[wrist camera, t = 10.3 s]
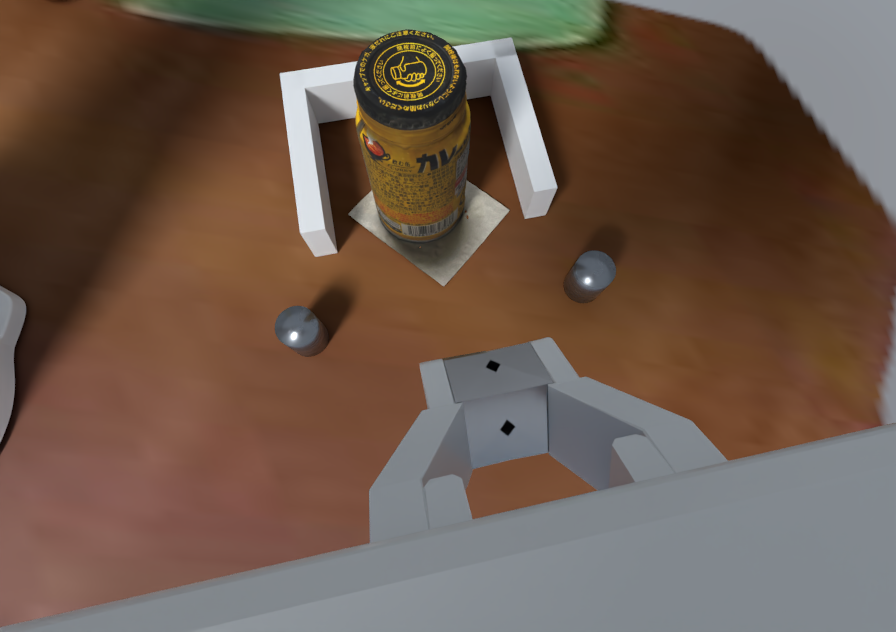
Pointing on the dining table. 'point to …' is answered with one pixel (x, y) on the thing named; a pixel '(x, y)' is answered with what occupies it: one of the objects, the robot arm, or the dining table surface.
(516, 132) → the holder
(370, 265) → the dining table surface
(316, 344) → the cylinder
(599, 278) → the cylinder
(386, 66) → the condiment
